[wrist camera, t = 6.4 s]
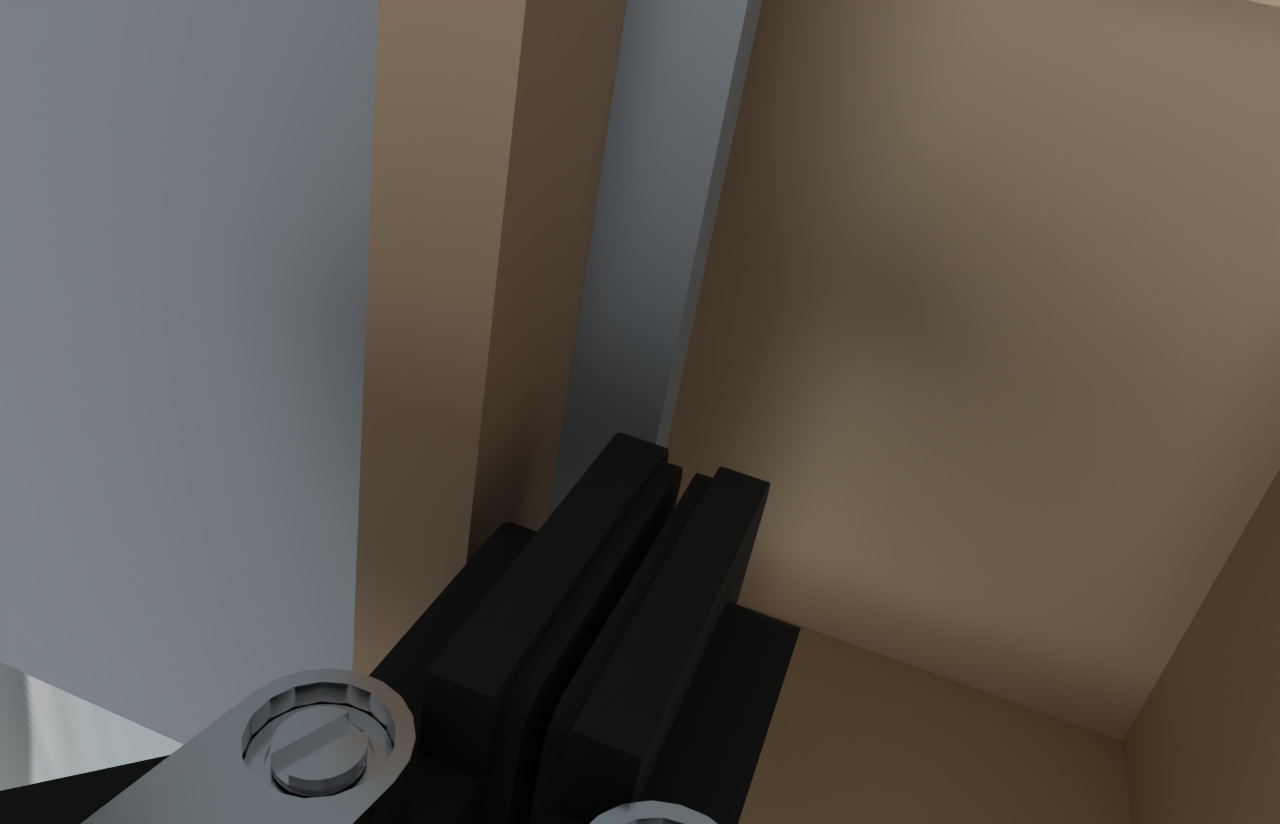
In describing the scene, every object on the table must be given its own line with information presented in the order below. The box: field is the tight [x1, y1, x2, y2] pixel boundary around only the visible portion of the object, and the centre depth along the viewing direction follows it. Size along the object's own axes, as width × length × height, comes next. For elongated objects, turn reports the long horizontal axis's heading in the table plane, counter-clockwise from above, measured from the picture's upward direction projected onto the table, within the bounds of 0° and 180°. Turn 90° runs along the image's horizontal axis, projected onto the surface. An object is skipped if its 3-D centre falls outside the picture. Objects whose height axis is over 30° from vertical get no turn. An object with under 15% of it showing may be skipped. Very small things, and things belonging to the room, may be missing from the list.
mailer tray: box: [666, 0, 1280, 824], centre depth 15 cm, size 18×14×7 cm
